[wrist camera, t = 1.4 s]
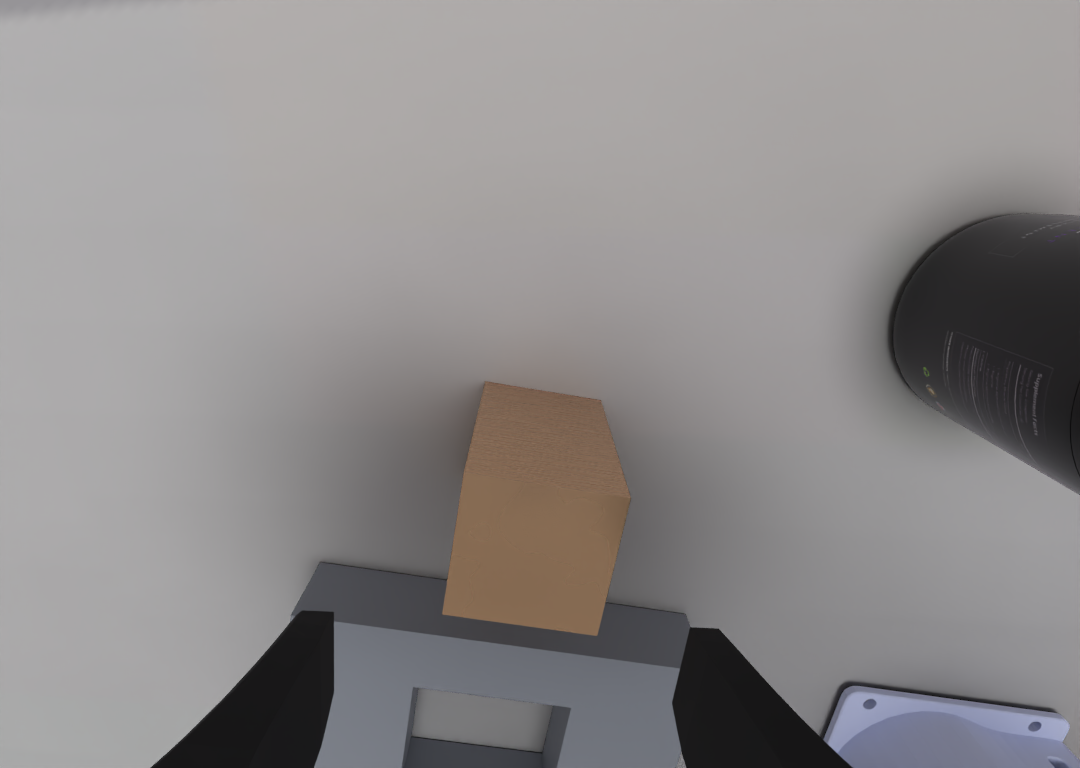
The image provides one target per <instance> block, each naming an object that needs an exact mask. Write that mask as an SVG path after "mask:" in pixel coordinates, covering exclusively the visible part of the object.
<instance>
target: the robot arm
mask: <svg viewBox="0 0 1080 768" xmlns="http://www.w3.org/2000/svg"><path fill="white" fill-rule="evenodd" d="M333 695H334V612H328V611H305V610H302V611H301V612H299V613H298V614H297V615H296V616H295V617H294V618H293V620H292V621H291V622H290V623H289V625H288V626H287V627H286V628H285V630H284V631H283V632H282V633H281V634H280V636H279V637H278V638H277V639H276V641H275V642H274V643H273V644H272V645H271V646H270V648H269V649H268V650H267V651H266V652H265V653H264V655H263V656H262V657H261V658H260V659H259V660H258V661H257V663H256V664H255V665H254V666H253V667H252V668H251V669H250V670H249V671H248V673H247V674H246V675H245V676H244V677H243V678H242V679H241V680H240V681H239V682H238V683H237V685H236V686H235V687H234V688H233V689H232V690H231V691H230V692H229V693H228V694H227V695H226V696H225V697H224V698H223V699H222V701H221V702H220V703H219V704H218V705H217V706H216V707H214V708H213V709H212V710H211V711H210V712H209V713H208V714H207V715H206V716H205V717H204V718H203V719H202V720H201V721H200V722H199V723H198V724H197V725H196V726H195V727H194V728H193V729H192V730H191V731H190V732H189V733H188V734H187V735H186V736H185V737H184V738H183V739H182V740H181V741H180V742H179V743H178V744H176V745H175V746H174V747H173V748H172V749H171V750H170V751H169V752H168V753H167V754H166V755H164V756H163V757H162V758H161V759H160V760H159V761H158V762H157V763H155V764H154V765H153V766H152V767H151V768H314V766H315V763H316V761H317V758H318V755H319V752H320V749H321V746H322V742H323V738H324V733H325V729H326V725H327V721H328V717H329V712H330V708H331V704H332V699H333ZM868 699H869V700H868ZM866 700H868V701H866ZM672 706H673V711H674V716H675V722H676V727H677V732H678V736H679V741H680V746H681V750H682V755H683V758H684V761H685V764H686V768H1080V760H1079V759H1078V758H1077V757H1076V756H1075V755H1074V754H1073V753H1072V752H1071V751H1070V750H1069V749H1068V748H1067V747H1066V745H1065V744H1064V743H1063V740H1064V738H1065V736H1066V734H1067V733H1068V731H1069V727H1070V726H1069V723H1068V722H1067V721H1066V720H1065V719H1064V718H1063V717H1062V716H1061V715H1060V714H1057V713H1052V712H1044V711H1037V710H1030V709H1023V708H1015V707H1008V706H1001V705H993V704H986V703H979V702H972V701H964V700H957V699H950V698H942V697H935V696H928V695H921V694H913V693H906V692H899V691H891V690H884V689H877V688H869V687H862V686H851V687H848V688H847V689H845V690H844V691H843V693H842V694H841V697H840V699H839V702H838V704H837V707H836V709H835V712H834V714H833V717H832V719H831V722H830V724H829V727H828V729H827V732H826V734H825V737H824V739H822V738H821V737H820V736H819V735H818V734H817V733H815V732H814V731H813V730H812V729H811V728H810V727H809V726H808V725H807V724H806V723H805V722H804V721H803V720H802V719H801V718H800V717H799V716H798V715H797V713H796V712H795V711H794V710H793V709H792V708H791V707H790V706H789V705H788V704H787V703H786V702H785V701H784V700H783V699H782V698H781V697H780V696H779V695H778V694H777V693H776V691H775V690H774V689H773V688H772V687H771V686H770V685H769V684H768V683H767V682H766V681H765V679H764V678H763V677H762V676H761V675H760V674H759V673H758V672H757V671H756V670H755V668H754V667H753V666H752V665H751V664H750V663H749V662H748V661H747V660H746V658H745V657H744V656H743V655H742V654H741V653H740V652H739V651H738V650H737V648H736V647H735V646H734V645H733V644H732V643H731V642H730V641H729V640H728V638H727V637H726V636H725V635H724V634H723V633H722V632H721V631H720V630H719V629H714V628H691V627H690V630H689V634H688V638H687V642H686V646H685V650H684V654H683V659H682V663H681V667H680V671H679V675H678V679H677V683H676V688H675V692H674V696H673V700H672Z"/></svg>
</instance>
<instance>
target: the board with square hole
mask: <svg viewBox="0 0 1080 768" xmlns="http://www.w3.org/2000/svg"><path fill="white" fill-rule="evenodd" d="M446 586H447V580H441V579H434V578H427V577H420V576H413V575H406V574H399V573H392V572H385V571H378V570H371V569H364V568H356V567H349V566H342V565H335V564H328V563H321V562H320V564H319V565H318V567H317V569H316V571H315V573H314V574H313V576H312V578H311V580H310V582H309V583H308V585H307V587H306V589H305V591H304V592H303V594H302V596H301V598H300V600H299V601H298V603H297V605H296V607H295V609H294V610H293V612H292V614H291V619H290V622H291V621H292V620H293V618H294V617H295V616H296V615H297V614H298V613H299V612H301V611H302V610H305V611H328V612H334V695H333V699H332V704H331V708H330V712H329V717H328V721H327V725H326V729H325V733H324V738H323V742H322V746H321V749H320V752H319V755H318V758H317V761H316V763H315V766H314V768H676V766H677V763H678V760H679V757H680V754H681V751H682V750H681V746H680V741H679V736H678V732H677V727H676V722H675V716H674V711H673V706H672V700H673V696H674V692H675V688H676V683H677V679H678V675H679V671H680V667H681V663H682V659H683V654H684V650H685V646H686V642H687V638H688V634H689V630H690V625H689V622H688V619H687V616H686V614H680V613H673V612H666V611H659V610H652V609H645V608H638V607H631V606H624V605H617V604H610V603H605V606H604V610H603V614H602V618H601V622H600V627H599V631H598V635H597V636H594V635H586V634H579V633H572V632H565V631H558V630H550V629H543V628H536V627H529V626H522V625H514V624H507V623H500V622H493V621H486V620H478V619H471V618H464V617H457V616H450V615H442V612H443V606H444V599H445V592H446ZM418 688H424V689H431V690H439V691H447V692H454V693H462V694H469V695H477V696H485V697H492V698H500V699H508V700H515V701H523V702H531V703H538V704H546V705H553V709H552V714H551V718H550V722H549V727H548V731H547V736H546V740H545V744H544V749H543V753H534V752H526V751H518V750H510V749H502V748H494V747H486V746H478V745H470V744H462V743H454V742H446V741H438V740H430V739H422V738H414V737H411V735H412V728H413V721H414V714H415V707H416V700H417V693H418Z"/></svg>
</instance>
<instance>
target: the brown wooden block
mask: <svg viewBox="0 0 1080 768" xmlns="http://www.w3.org/2000/svg"><path fill="white" fill-rule="evenodd" d="M630 500H631V497H630V494H629V490H628V487H627V484H626V481H625V477H624V474H623V471H622V468H621V464H620V461H619V458H618V455H617V451H616V448H615V445H614V442H613V438H612V435H611V432H610V429H609V425H608V422H607V419H606V416H605V412H604V409H603V406H602V403H601V400H596V399H590V398H584V397H577V396H571V395H565V394H559V393H553V392H547V391H541V390H535V389H528V388H522V387H516V386H510V385H504V384H498V383H492V382H486V381H485V385H484V389H483V393H482V397H481V402H480V406H479V410H478V414H477V419H476V423H475V427H474V431H473V436H472V440H471V444H470V448H469V453H468V457H467V461H466V465H465V470H464V474H463V481H462V488H461V494H460V501H459V507H458V514H457V520H456V527H455V533H454V540H453V547H452V553H451V560H450V566H449V573H448V579H447V586H446V592H445V599H444V606H443V612H442V615H450V616H457V617H464V618H471V619H478V620H486V621H493V622H500V623H507V624H514V625H522V626H529V627H536V628H543V629H550V630H558V631H565V632H572V633H579V634H586V635H594V636H597V635H598V631H599V627H600V622H601V618H602V614H603V610H604V606H605V602H606V598H607V594H608V590H609V586H610V582H611V578H612V574H613V569H614V565H615V561H616V557H617V553H618V549H619V545H620V541H621V537H622V533H623V529H624V525H625V521H626V516H627V512H628V508H629V504H630Z"/></svg>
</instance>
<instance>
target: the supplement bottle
mask: <svg viewBox="0 0 1080 768" xmlns="http://www.w3.org/2000/svg"><path fill="white" fill-rule="evenodd" d="M893 345H894V353H895V357H896V361H897V364H898V367H899V369H900V371H901V374H902V376H903V377H904V379H905V381H906V382H907V384H908V385H909V387H910V388H911V389H912V390H913V392H914V393H915V394H916V395H917V396H918V397H920V398H921V399H922V400H923V401H924V402H926V403H927V404H928V405H930V406H931V407H932V408H934V409H936V410H937V411H939V412H940V413H942V414H944V415H945V416H947V417H948V418H950V419H952V420H953V421H955V422H957V423H959V424H960V425H962V426H964V427H965V428H967V429H969V430H970V431H972V432H974V433H975V434H977V435H979V436H981V437H982V438H984V439H986V440H987V441H989V442H991V443H992V444H994V445H996V446H998V447H999V448H1001V449H1003V450H1004V451H1006V452H1008V453H1009V454H1011V455H1013V456H1014V457H1016V458H1018V459H1020V460H1021V461H1023V462H1025V463H1026V464H1028V465H1030V466H1031V467H1033V468H1035V469H1037V470H1038V471H1040V472H1042V473H1043V474H1045V475H1047V476H1048V477H1050V478H1052V479H1053V480H1055V481H1057V482H1059V483H1060V484H1062V485H1064V486H1065V487H1067V488H1069V489H1070V490H1072V491H1074V492H1076V493H1077V494H1079V495H1080V216H1074V215H1058V214H1030V213H1026V214H1012V215H1005V216H999V217H996V218H992V219H988V220H985V221H983V222H980V223H977V224H975V225H973V226H970V227H968V228H966V229H964V230H962V231H961V232H959V233H957V234H955V235H954V236H952V237H951V238H949V239H948V240H947V241H945V242H944V243H943V244H941V245H940V246H939V247H938V248H937V249H935V250H934V251H933V252H932V253H931V254H930V255H929V256H928V257H927V258H926V259H925V261H924V262H923V263H922V264H921V265H920V266H919V268H918V269H917V270H916V272H915V273H914V274H913V276H912V277H911V279H910V281H909V282H908V284H907V286H906V288H905V290H904V292H903V294H902V296H901V299H900V301H899V304H898V307H897V311H896V315H895V320H894V328H893Z"/></svg>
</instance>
